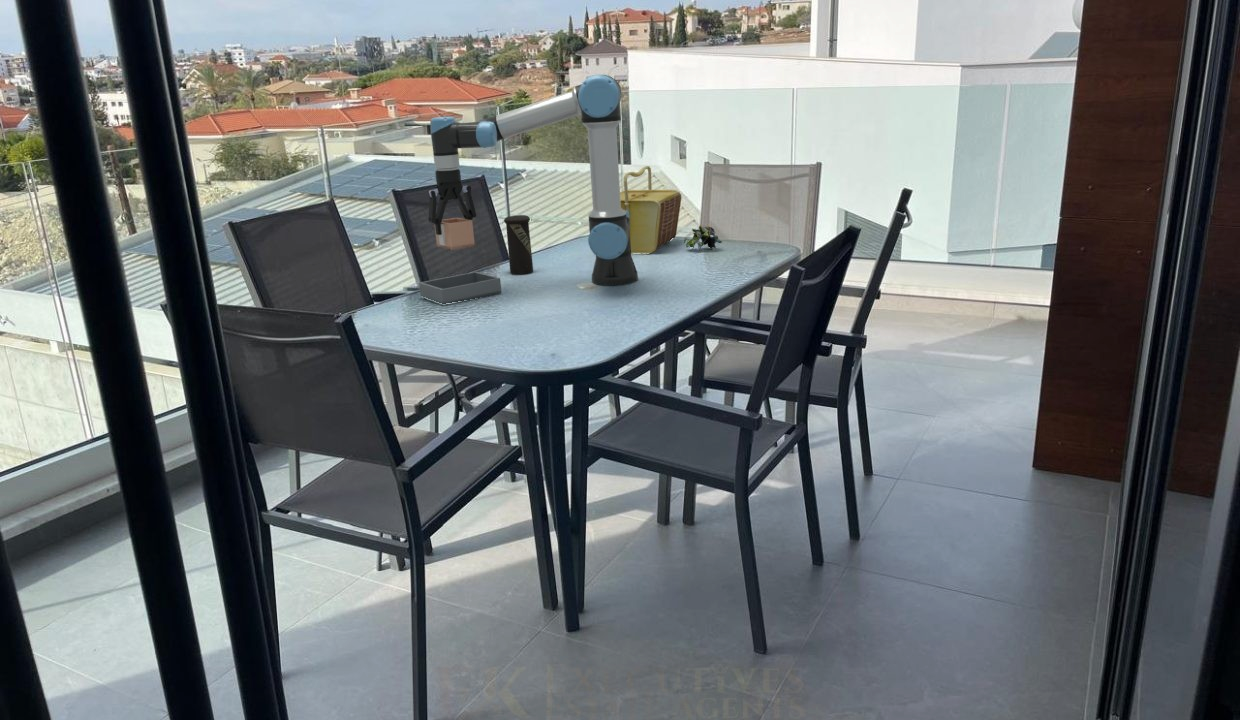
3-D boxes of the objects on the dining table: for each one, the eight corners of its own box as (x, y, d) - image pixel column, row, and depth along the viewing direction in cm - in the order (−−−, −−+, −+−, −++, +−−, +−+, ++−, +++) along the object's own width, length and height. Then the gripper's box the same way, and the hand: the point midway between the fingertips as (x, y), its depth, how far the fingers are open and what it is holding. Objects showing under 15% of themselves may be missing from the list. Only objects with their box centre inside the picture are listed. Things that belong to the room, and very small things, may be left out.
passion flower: (710, 263, 344) (728, 238, 338) (695, 263, 335) (713, 237, 330) (690, 244, 348) (708, 219, 343) (675, 244, 339) (693, 218, 334)
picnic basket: (661, 256, 335) (658, 173, 326) (596, 254, 344) (591, 174, 335) (684, 241, 361) (681, 164, 352) (623, 240, 370) (619, 165, 361)
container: (522, 276, 314) (517, 218, 308) (503, 273, 320) (498, 216, 314) (539, 271, 321) (534, 214, 315) (520, 268, 326) (515, 213, 320)
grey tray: (501, 293, 290) (500, 278, 289) (443, 305, 279) (441, 289, 277) (477, 286, 302) (476, 271, 301) (420, 298, 291) (418, 282, 289)
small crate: (474, 246, 284) (472, 220, 282) (451, 249, 280) (449, 223, 277) (459, 242, 292) (456, 217, 290) (437, 246, 287) (434, 221, 285)
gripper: (471, 165, 287) (478, 236, 294) (410, 172, 276) (419, 246, 282) (483, 166, 282) (490, 239, 289) (421, 173, 270) (430, 249, 277)
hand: (455, 242), depth 285 cm, fingers closed on small crate, 8 cm apart
